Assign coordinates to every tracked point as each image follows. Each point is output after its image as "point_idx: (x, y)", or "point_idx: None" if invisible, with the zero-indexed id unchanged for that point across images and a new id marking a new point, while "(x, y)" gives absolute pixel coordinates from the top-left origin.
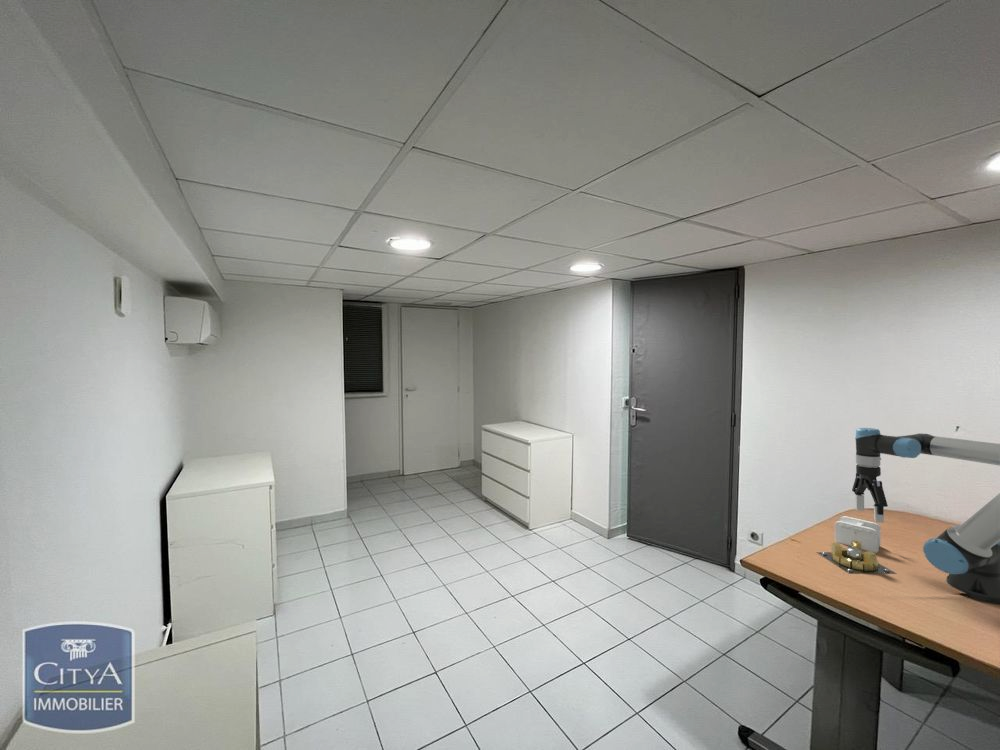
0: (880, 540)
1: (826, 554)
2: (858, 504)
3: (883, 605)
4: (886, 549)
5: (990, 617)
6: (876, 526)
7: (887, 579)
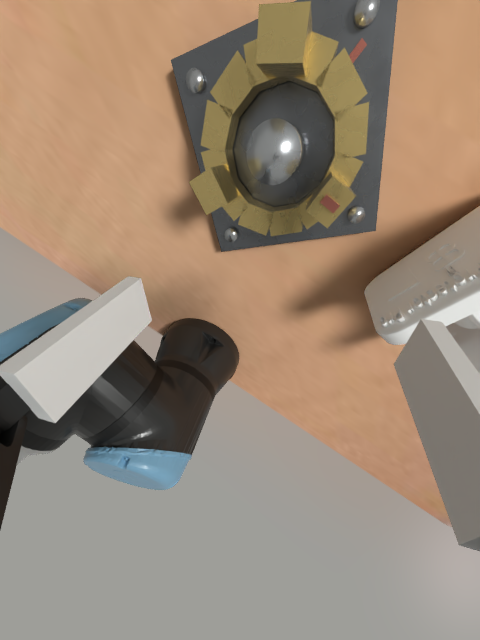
0: None
1: (356, 24)
2: (439, 378)
3: (35, 95)
4: None
5: None
6: None
7: None
